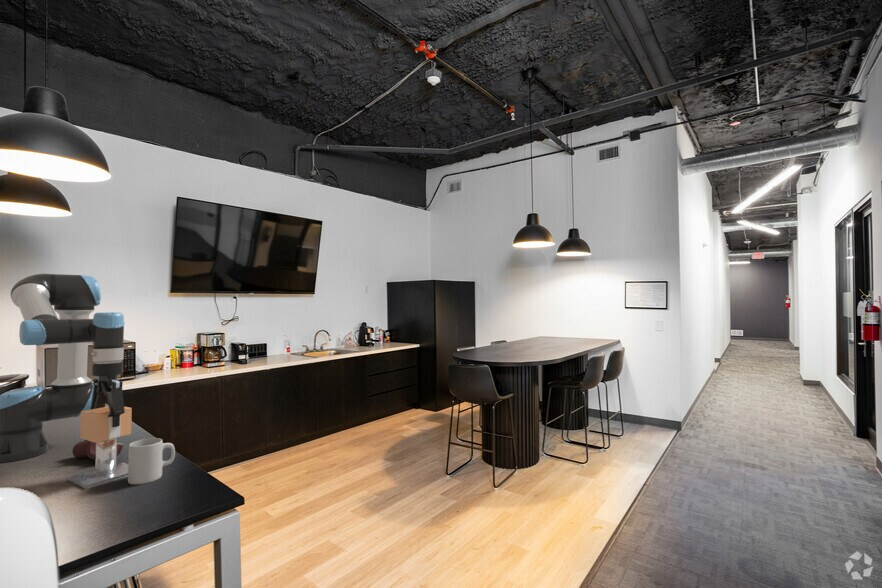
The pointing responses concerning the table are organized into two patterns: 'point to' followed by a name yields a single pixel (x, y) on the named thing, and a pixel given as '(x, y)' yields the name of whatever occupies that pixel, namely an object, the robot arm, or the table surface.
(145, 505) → the table surface
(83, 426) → the tan wooden box
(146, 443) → the mug
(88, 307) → the robot arm
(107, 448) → the duct flange
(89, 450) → the bracket
